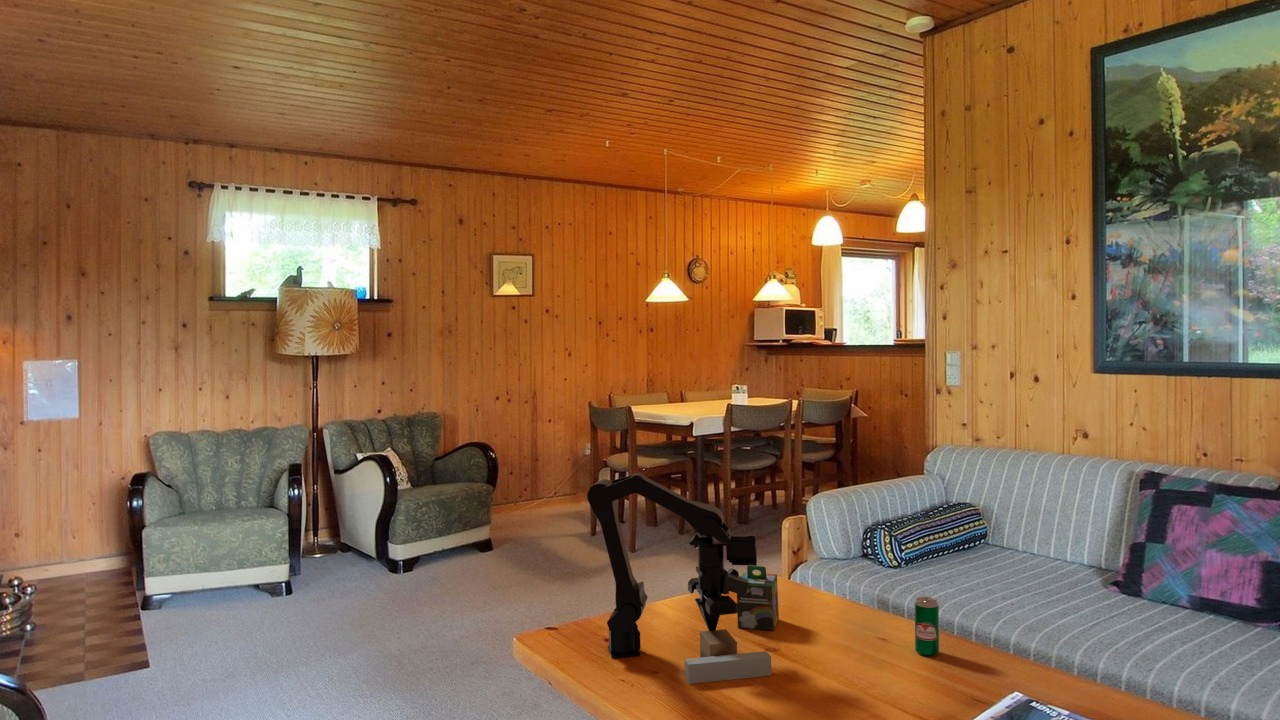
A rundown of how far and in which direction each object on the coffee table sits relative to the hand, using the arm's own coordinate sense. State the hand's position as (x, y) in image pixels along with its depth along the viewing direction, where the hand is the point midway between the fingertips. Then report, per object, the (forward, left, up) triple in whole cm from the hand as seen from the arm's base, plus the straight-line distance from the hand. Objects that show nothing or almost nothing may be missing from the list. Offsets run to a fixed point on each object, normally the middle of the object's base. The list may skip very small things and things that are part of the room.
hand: (712, 633), depth 175 cm
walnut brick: (0, -5, -5) cm, 7 cm away
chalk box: (+17, +17, -5) cm, 25 cm away
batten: (0, -12, -5) cm, 13 cm away
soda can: (+47, -10, -5) cm, 48 cm away
